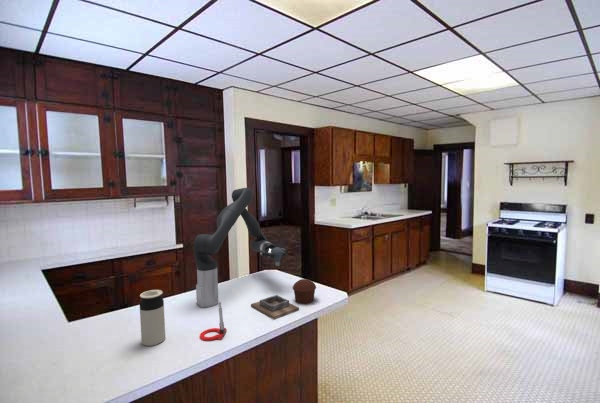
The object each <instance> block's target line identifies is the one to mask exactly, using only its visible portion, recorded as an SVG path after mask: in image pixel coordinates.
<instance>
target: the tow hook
mask: <svg viewBox="0 0 600 403" xmlns="http://www.w3.org/2000/svg"><path fill="white" fill-rule="evenodd" d="M218 317H219V323H218V324H219V327H217V328H216V327H213V328H208V329H205V330H204V331H202V332H201V333H200V334H199V339H200V340H202V341H205V342H206V341H207V342H208V341H214V340H219V341H220V340H222V338H224V336H225V334H226V333H227V331H228V330H227V328H226V327H225V322H224V317H223V307H222V302H221V301H220V302H219V301H218ZM213 332H214V333H215V332H217V333H218V334H215V335H213V336H205V335H207V334H208V333H213Z"/></svg>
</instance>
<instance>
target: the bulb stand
mask: <svg viewBox="0 0 600 403" xmlns="http://www.w3.org/2000/svg"><path fill="white" fill-rule="evenodd" d="M250 307H251V309H252V308H253V310H256V311H258V312H260V313H261V314H263V315H265V316H266V317H268V318H270V319H272V320H276V319H279V318H281V317H285V316H287V315H290V314H292V313H296V312H297V311H299V310H300V307H299V306H296V305H295V304H293V303H290V300H289V299H287V298H285V297H282V296H279V295H277V294H275V295H272V296H269V297H266V298H263V299H262V298H261V299H260V300H259V301H257V302H256V301H255V302H253V303H250Z"/></svg>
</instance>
